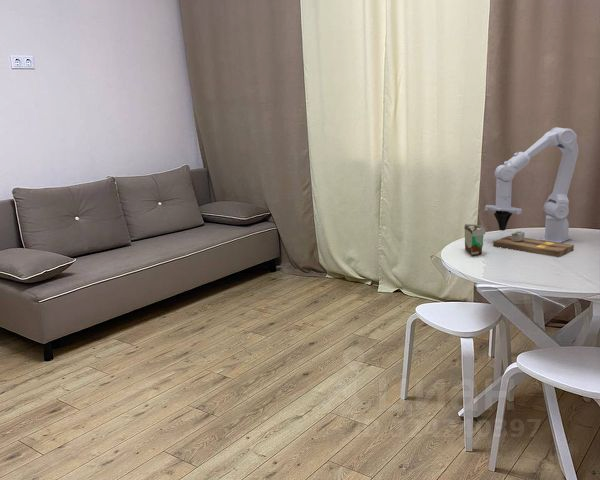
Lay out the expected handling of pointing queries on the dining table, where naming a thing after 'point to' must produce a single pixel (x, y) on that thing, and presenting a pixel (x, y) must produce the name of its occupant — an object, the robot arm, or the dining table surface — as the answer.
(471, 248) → the food container
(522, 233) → the fader knob
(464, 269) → the dining table surface
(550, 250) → the fader console
